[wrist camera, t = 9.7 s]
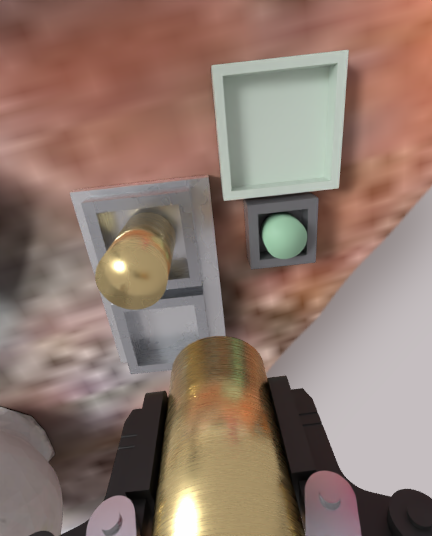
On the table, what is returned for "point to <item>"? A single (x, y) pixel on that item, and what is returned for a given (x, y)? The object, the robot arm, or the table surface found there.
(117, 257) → the billet
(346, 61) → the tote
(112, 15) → the table surface
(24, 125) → the table surface
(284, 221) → the button
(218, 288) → the tray
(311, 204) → the console
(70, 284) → the table surface
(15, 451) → the ceramic pitcher
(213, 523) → the billet
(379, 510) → the robot arm
